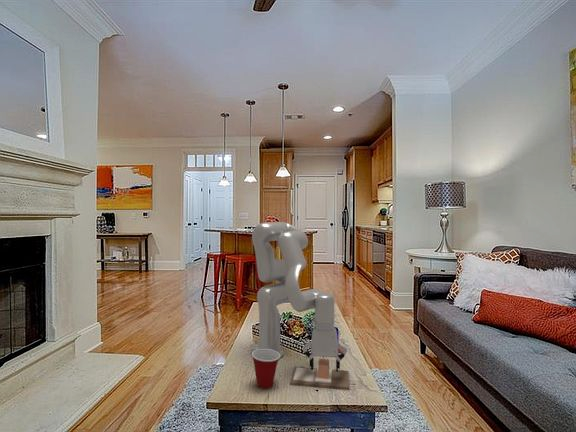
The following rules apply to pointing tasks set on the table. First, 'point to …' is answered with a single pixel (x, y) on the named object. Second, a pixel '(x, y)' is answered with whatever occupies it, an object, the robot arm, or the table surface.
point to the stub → (323, 371)
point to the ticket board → (307, 378)
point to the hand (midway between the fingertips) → (324, 369)
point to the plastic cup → (265, 366)
